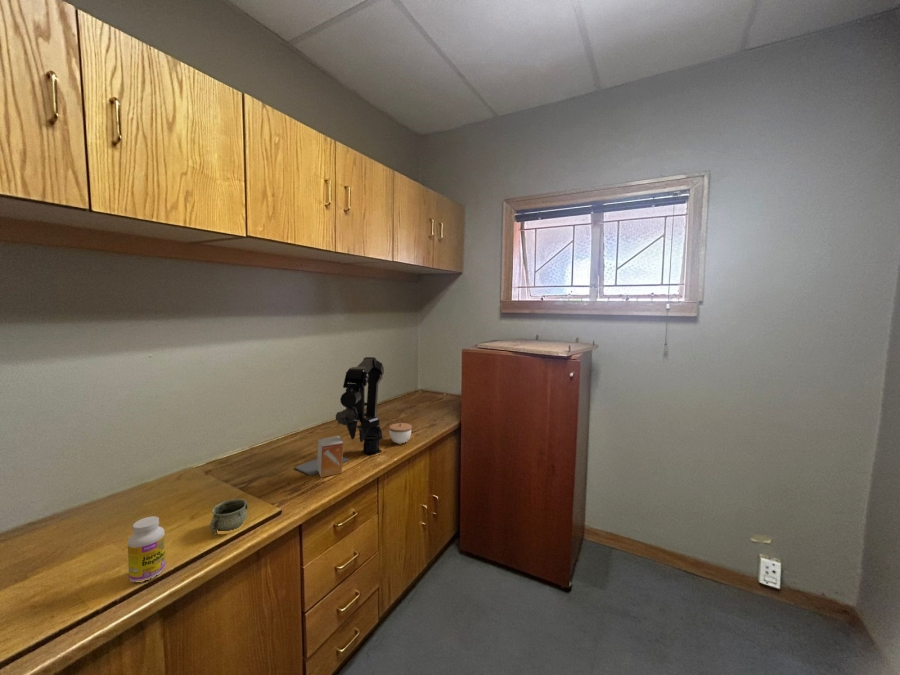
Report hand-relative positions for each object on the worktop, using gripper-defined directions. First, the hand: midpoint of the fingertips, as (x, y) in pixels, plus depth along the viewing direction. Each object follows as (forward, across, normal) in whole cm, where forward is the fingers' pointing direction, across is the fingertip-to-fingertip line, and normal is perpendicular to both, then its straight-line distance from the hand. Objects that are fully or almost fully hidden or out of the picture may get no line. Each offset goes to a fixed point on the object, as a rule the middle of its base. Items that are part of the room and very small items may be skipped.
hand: (357, 440), depth 138 cm
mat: (+13, -17, -3) cm, 22 cm away
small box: (+13, -9, -6) cm, 17 cm away
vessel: (+13, -3, -45) cm, 47 cm away
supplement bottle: (+13, +1, -65) cm, 66 cm away
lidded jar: (+13, -9, +35) cm, 39 cm away
